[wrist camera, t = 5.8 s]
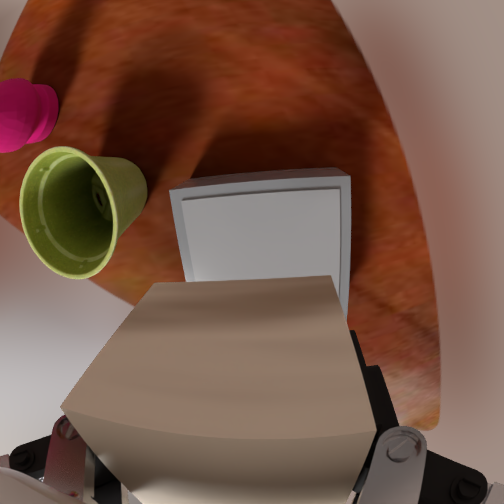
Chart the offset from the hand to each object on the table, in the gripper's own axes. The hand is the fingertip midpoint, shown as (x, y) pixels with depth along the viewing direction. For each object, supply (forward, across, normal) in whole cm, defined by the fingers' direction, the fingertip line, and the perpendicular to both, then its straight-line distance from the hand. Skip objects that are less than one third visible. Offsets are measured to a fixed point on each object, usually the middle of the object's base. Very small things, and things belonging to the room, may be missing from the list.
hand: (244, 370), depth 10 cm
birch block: (+1, 0, 0) cm, 1 cm away
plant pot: (+17, +13, -5) cm, 22 cm away
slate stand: (+17, 0, +1) cm, 17 cm away
